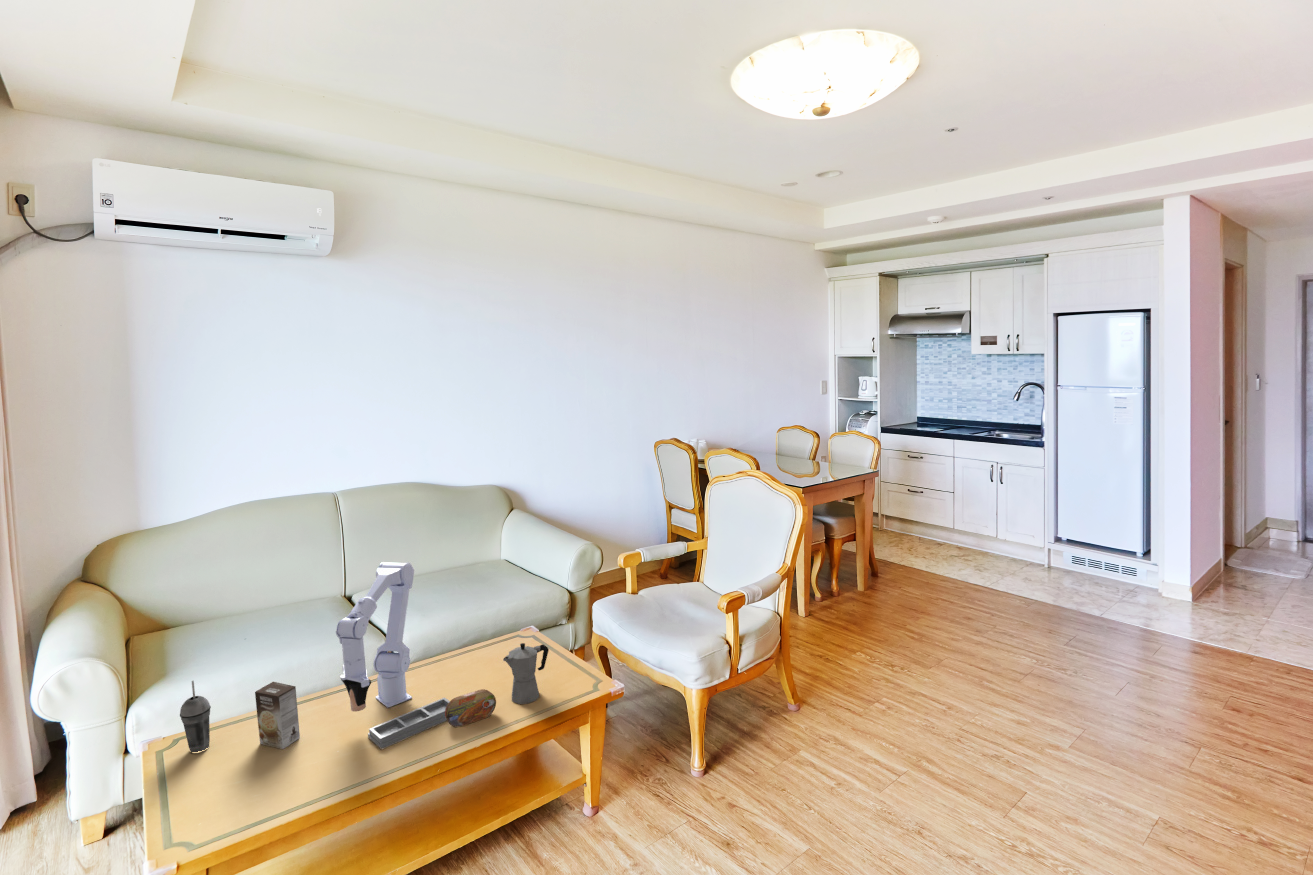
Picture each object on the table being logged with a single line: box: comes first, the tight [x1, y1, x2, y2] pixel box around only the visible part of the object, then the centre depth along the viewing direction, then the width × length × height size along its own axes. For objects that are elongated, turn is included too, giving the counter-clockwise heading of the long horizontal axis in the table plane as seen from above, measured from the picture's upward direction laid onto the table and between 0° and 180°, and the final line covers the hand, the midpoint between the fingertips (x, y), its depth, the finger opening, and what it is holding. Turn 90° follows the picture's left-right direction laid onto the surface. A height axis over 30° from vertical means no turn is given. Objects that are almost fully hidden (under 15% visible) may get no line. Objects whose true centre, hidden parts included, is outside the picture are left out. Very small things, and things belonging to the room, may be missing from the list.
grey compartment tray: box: [367, 697, 451, 750], centre depth 198 cm, size 9×24×3 cm, turn 136°
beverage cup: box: [179, 680, 212, 752], centre depth 188 cm, size 7×7×20 cm
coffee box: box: [254, 681, 301, 750], centre depth 191 cm, size 9×6×16 cm
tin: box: [445, 688, 497, 728], centre depth 200 cm, size 15×3×8 cm, turn 123°
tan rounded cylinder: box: [349, 689, 367, 713], centre depth 195 cm, size 4×4×7 cm
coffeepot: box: [503, 642, 550, 705], centre depth 213 cm, size 15×9×18 cm, turn 125°
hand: (357, 701), depth 195 cm, fingers closed on tan rounded cylinder, 4 cm apart
